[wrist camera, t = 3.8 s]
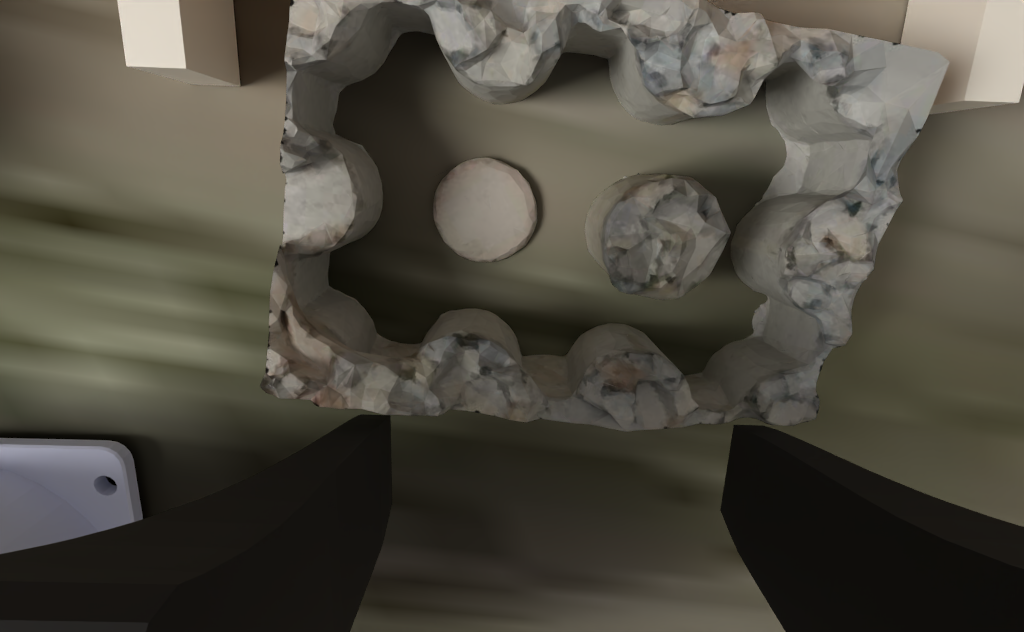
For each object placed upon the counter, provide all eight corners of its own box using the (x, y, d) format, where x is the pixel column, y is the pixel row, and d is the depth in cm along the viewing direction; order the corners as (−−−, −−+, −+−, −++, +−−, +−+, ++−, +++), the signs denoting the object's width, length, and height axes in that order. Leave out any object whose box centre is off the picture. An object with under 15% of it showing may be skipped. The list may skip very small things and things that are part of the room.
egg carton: (309, 333, 13) (221, 406, 9) (339, -19, 11) (245, -127, 7) (742, 405, 13) (842, 502, 9) (842, 83, 12) (1019, 37, 8)
